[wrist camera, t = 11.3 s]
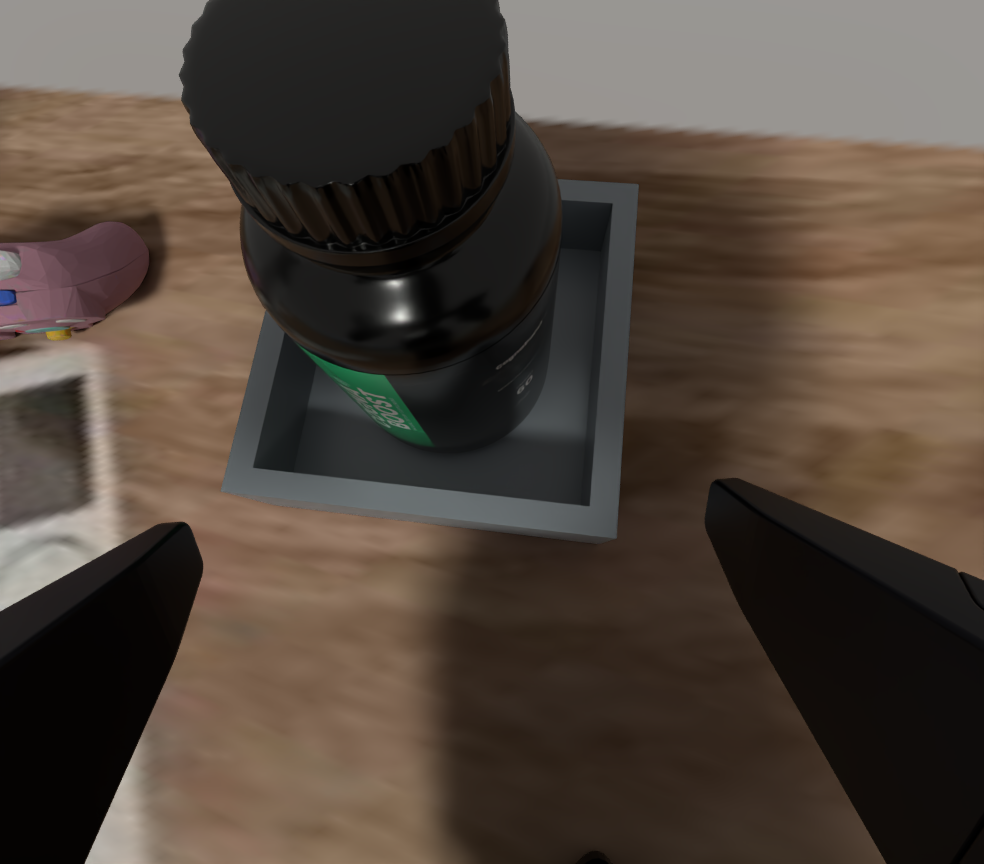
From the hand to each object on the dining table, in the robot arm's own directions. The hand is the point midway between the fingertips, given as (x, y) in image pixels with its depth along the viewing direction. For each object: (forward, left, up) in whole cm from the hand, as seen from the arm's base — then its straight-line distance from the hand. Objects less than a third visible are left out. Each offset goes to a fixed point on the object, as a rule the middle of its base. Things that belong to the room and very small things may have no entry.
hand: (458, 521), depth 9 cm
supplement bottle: (+3, +6, -9) cm, 11 cm away
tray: (+3, +6, -9) cm, 11 cm away
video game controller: (-9, +18, -10) cm, 23 cm away
